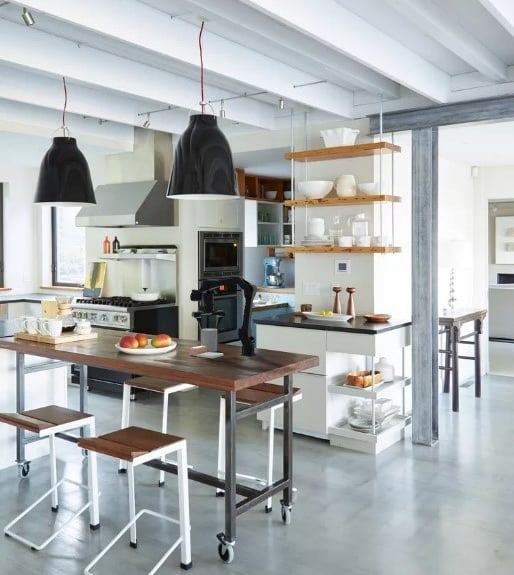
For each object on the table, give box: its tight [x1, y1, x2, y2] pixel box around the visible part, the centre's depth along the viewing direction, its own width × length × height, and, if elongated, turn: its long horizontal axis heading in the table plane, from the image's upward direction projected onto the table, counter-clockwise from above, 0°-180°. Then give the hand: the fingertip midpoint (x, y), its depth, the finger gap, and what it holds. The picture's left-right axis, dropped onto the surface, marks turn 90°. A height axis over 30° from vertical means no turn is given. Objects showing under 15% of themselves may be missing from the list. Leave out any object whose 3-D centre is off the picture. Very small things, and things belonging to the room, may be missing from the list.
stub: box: [189, 345, 207, 357], centre depth 357 cm, size 4×10×4 cm, turn 149°
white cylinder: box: [200, 327, 218, 353], centre depth 371 cm, size 10×10×12 cm
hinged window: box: [196, 351, 224, 359], centre depth 353 cm, size 11×10×1 cm
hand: (208, 329), depth 364 cm, fingers open, 9 cm apart
